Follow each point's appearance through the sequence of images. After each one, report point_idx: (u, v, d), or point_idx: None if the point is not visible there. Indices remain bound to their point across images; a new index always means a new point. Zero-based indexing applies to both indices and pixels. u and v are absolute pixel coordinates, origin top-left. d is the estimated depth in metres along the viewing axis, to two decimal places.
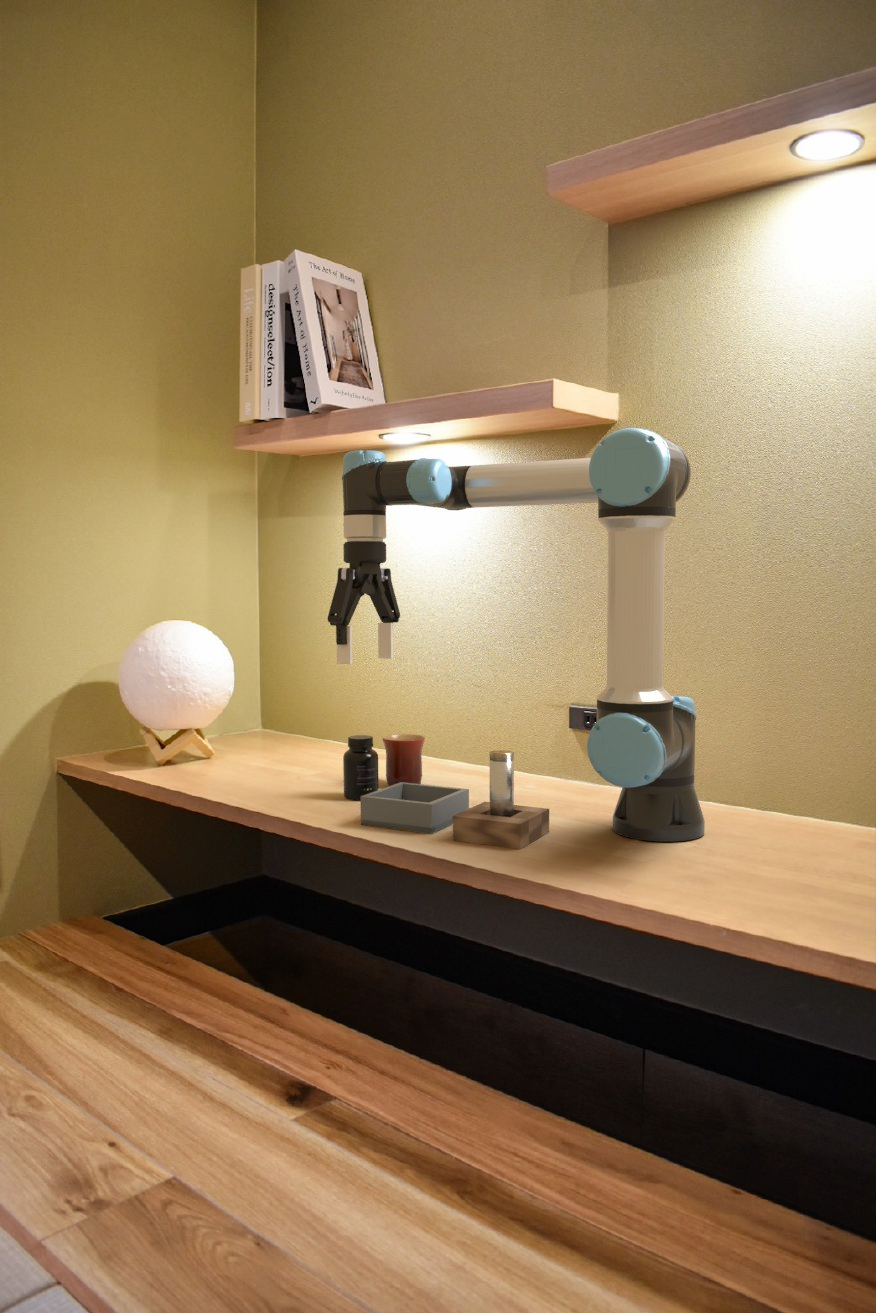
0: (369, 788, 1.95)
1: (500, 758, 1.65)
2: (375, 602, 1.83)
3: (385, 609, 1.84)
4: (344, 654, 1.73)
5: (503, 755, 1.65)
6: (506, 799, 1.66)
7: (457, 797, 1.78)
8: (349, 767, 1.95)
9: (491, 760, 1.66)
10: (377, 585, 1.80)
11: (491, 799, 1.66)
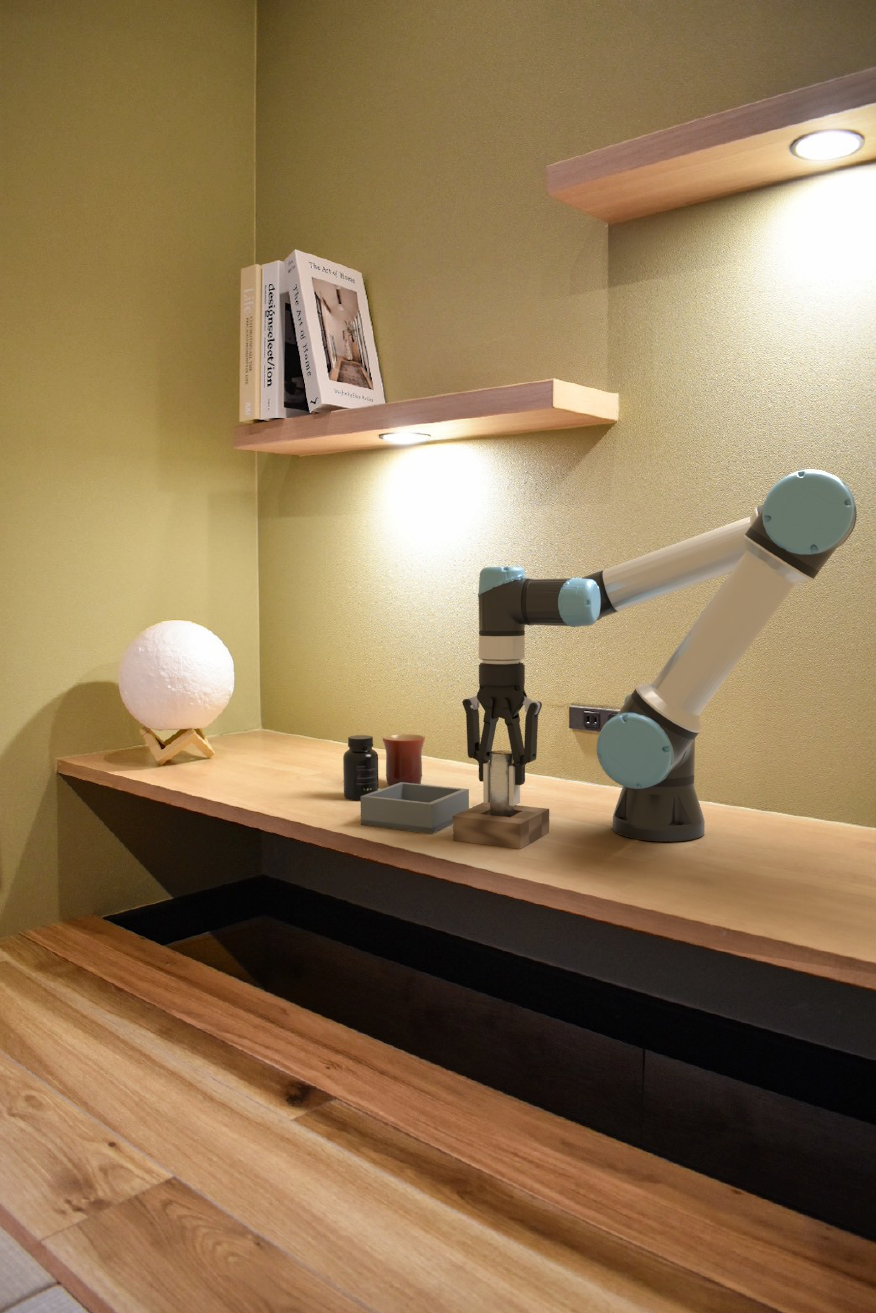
0: (369, 788, 1.95)
1: (499, 758, 1.65)
2: None
3: None
4: None
5: (503, 755, 1.65)
6: (506, 799, 1.66)
7: (457, 797, 1.78)
8: (349, 767, 1.95)
9: (491, 760, 1.66)
10: None
11: (491, 799, 1.66)
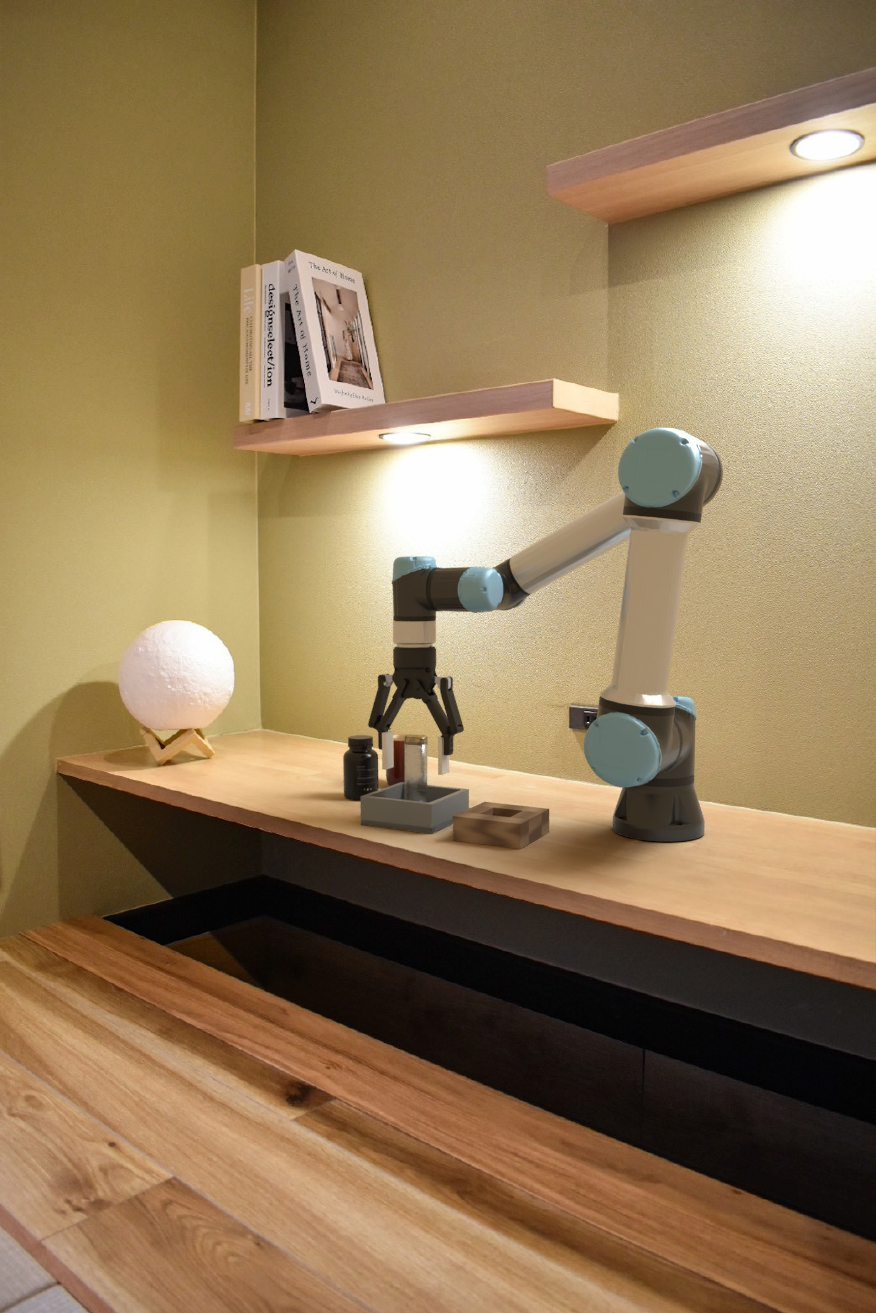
0: (369, 788, 1.95)
1: (413, 741, 1.76)
2: None
3: (435, 720, 1.75)
4: None
5: (416, 739, 1.76)
6: (419, 780, 1.76)
7: (457, 797, 1.78)
8: (349, 767, 1.95)
9: (406, 743, 1.77)
10: None
11: (405, 780, 1.77)
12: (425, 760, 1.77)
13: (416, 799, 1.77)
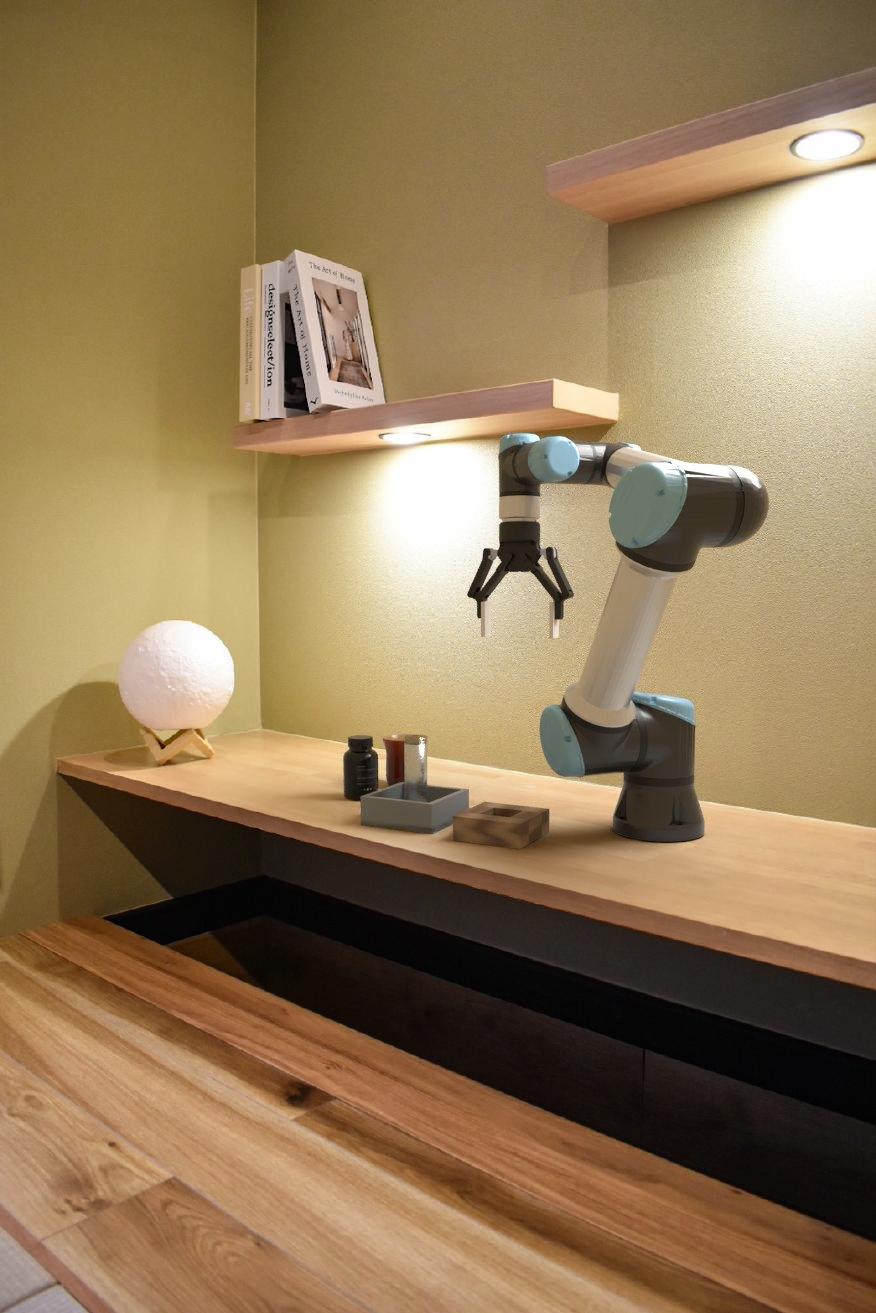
0: (369, 788, 1.95)
1: (413, 741, 1.76)
2: None
3: (545, 588, 1.83)
4: None
5: (416, 739, 1.76)
6: (419, 780, 1.76)
7: (457, 797, 1.78)
8: (349, 767, 1.95)
9: (405, 743, 1.77)
10: (525, 564, 1.84)
11: (405, 780, 1.77)
12: (425, 760, 1.77)
13: (416, 799, 1.77)
